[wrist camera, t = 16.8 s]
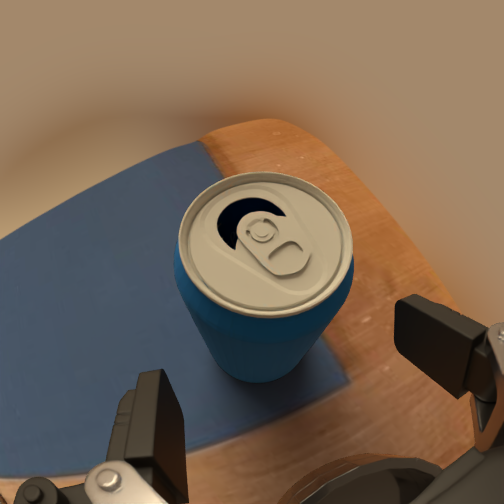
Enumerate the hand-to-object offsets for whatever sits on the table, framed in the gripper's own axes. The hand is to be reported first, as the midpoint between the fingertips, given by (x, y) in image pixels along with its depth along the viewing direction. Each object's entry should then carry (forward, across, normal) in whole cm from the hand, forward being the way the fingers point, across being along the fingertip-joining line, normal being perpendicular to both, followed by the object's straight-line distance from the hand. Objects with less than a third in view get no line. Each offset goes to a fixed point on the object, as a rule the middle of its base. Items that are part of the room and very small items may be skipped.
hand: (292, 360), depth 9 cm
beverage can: (+10, 0, +5) cm, 11 cm away
